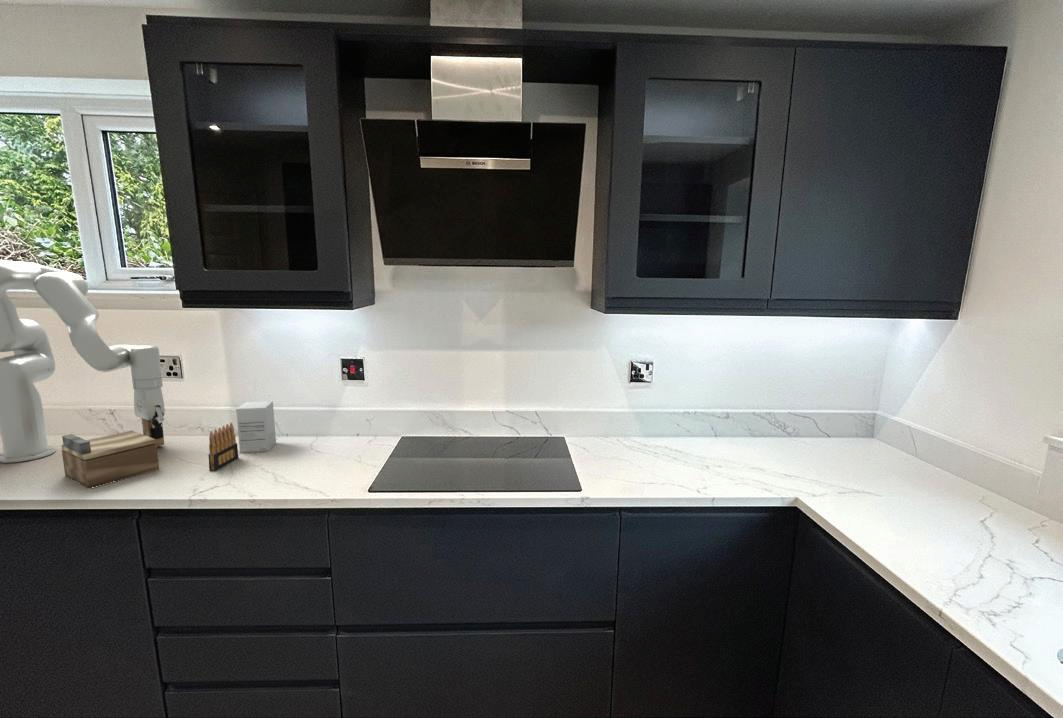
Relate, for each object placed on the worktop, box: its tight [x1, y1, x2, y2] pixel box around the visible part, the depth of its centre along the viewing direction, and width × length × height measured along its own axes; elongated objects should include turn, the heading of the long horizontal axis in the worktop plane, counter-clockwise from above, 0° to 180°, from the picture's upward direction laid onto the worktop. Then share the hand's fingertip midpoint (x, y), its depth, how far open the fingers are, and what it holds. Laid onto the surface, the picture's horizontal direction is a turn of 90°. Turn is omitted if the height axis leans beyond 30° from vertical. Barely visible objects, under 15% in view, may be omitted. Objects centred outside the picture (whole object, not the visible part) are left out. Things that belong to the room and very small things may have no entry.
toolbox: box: [61, 444, 160, 489], centre depth 136 cm, size 16×16×8 cm
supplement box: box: [235, 400, 277, 454], centre depth 158 cm, size 9×9×15 cm
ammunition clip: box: [208, 422, 239, 472], centre depth 143 cm, size 11×2×12 cm, turn 178°
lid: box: [60, 430, 156, 460], centre depth 135 cm, size 15×16×4 cm
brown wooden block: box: [141, 416, 165, 447], centre depth 156 cm, size 4×4×10 cm
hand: (153, 436), depth 156 cm, fingers open, 4 cm apart
